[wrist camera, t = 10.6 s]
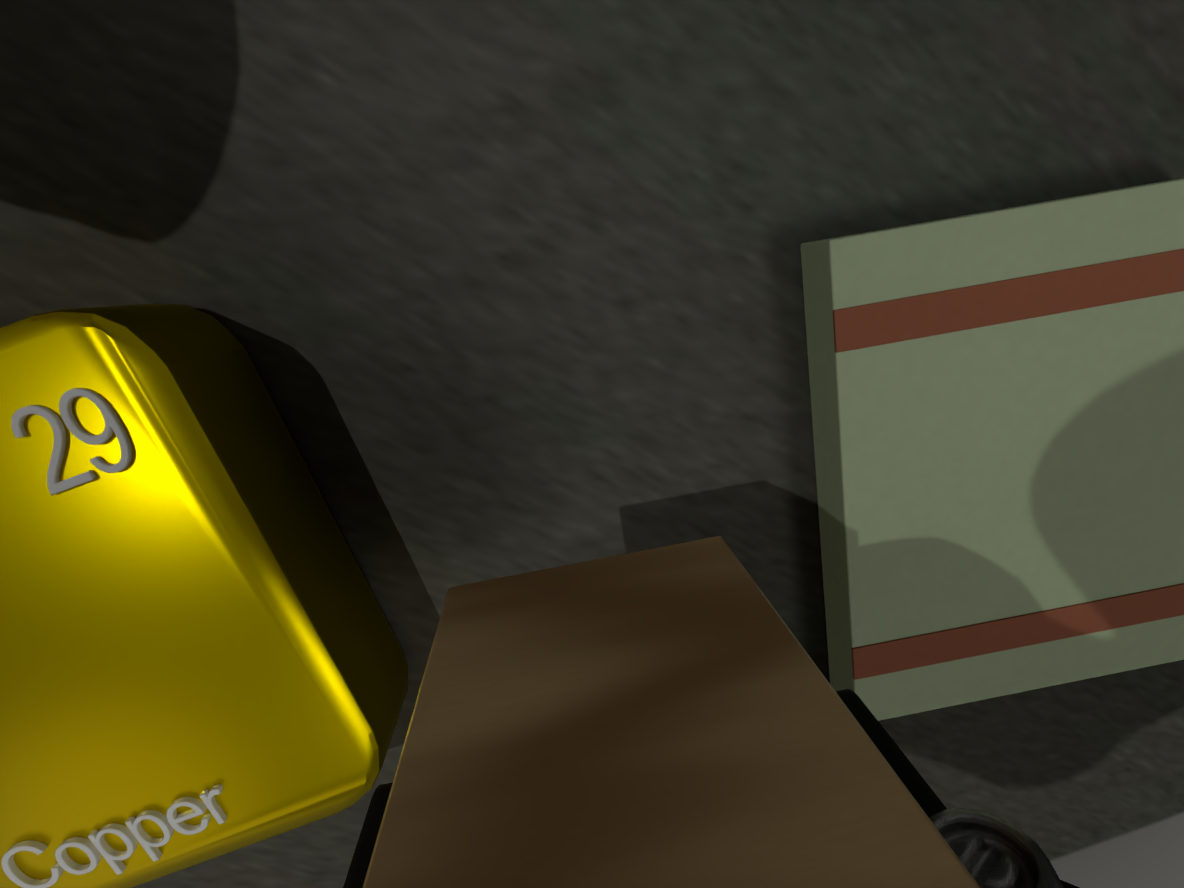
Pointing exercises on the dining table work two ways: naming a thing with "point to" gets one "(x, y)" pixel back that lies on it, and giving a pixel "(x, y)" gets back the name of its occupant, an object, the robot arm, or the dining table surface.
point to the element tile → (169, 608)
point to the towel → (1000, 447)
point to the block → (641, 744)
